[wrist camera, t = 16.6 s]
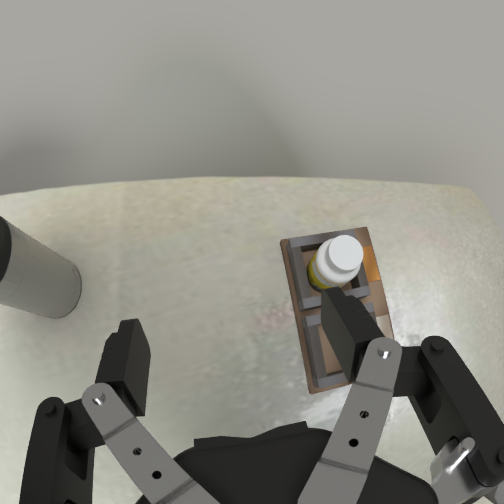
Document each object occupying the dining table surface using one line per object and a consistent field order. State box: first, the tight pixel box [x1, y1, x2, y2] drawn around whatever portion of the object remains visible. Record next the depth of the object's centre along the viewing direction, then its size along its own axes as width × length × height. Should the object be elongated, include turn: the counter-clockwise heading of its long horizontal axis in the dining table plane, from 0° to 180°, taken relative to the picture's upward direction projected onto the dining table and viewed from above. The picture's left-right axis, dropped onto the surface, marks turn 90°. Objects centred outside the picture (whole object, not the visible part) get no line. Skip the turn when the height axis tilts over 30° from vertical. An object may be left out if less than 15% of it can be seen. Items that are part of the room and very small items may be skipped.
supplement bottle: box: [306, 235, 363, 292], centre depth 38 cm, size 5×5×10 cm
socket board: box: [280, 227, 394, 394], centre depth 41 cm, size 13×21×4 cm, turn 10°
